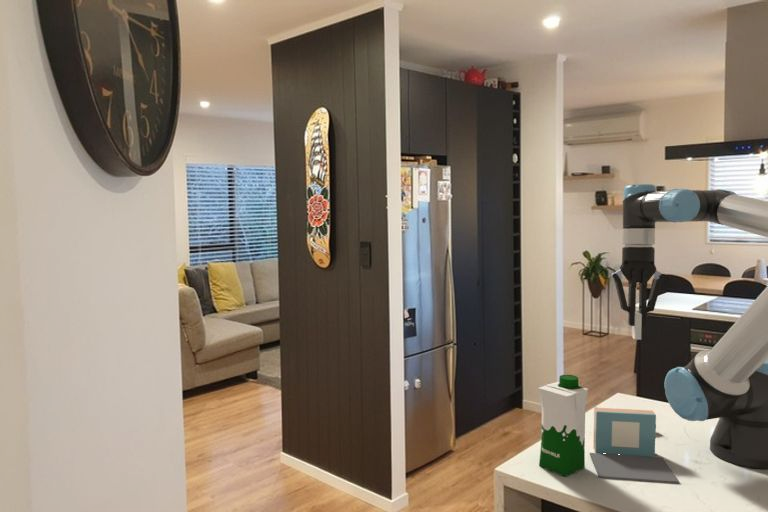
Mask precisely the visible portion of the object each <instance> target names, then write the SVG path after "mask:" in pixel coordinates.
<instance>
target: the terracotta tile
mask: <svg viewBox="0 0 768 512" xmlns="http://www.w3.org/2000/svg"><path fill="white" fill-rule="evenodd" d="M593 410H594V411H593V443H592V444H593V448H592V449H593V451H594V450H595V451H594V453H606V454H620V455H633V456H649V457H656V429H657V414H656V413H655V412H654V410H650V409H649V410H647V409H629V408H628V409H627V408H612V407H611V408H609V407H594V409H593Z"/></svg>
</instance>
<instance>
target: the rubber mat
mask: <svg viewBox="0 0 768 512" xmlns="http://www.w3.org/2000/svg"><path fill="white" fill-rule="evenodd" d="M589 456H590V458H591V462H592V464H593V466H594V468H595V471H596V474H597V477H598V478H599V479H611V480H612V479H613V480H623V481H624V480H626V481H639V482H650V483H651V482H652V483H665V484H680V481H679V479H678V477H677V476H676V474H675V472H673V470H672V468H671V467H670V466H669V464H668V462H667V461H666V460H665V457H661V456H660V457H659V456H655V457H649V456H633V455H618V454H603V453H595V452H589Z"/></svg>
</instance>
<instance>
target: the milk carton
mask: <svg viewBox="0 0 768 512" xmlns="http://www.w3.org/2000/svg"><path fill="white" fill-rule="evenodd" d="M538 393H539V397H540V398H539V399H540V403H541V431H540V432H541V436H540V437H541V440H540V441H541V442H540V443H541V444H540V450H539V451H540V453H539V463H538V466H539V467H541V468H544V469H546V470H548V471H551V472H553V473H556V474H558V475H561V476H562V477H564V478H566V477H568V476H570V475H572V474H575V473H576V472H577V473H578V472H579V471H580V470H583V469H585V468H586V467H585V466H586V465H585V461H586V460H585V458H586V457H585V456H586V455H585V453H586V452H585V447H586V446H585V445H586V440H585V438H586V437H585V435H586V434H585V433H586V407H587V401H588V394H589V388H585V387H584V386H580V385H579V377H578V376H576V375H573V374H562V375H559V381H556V382H552V383H549V384H545V385H543V386H540V387H538Z"/></svg>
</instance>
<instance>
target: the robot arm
mask: <svg viewBox="0 0 768 512" xmlns="http://www.w3.org/2000/svg"><path fill="white" fill-rule="evenodd" d="M622 197H623V198H622V245H624V246H623V247H622V248H621V249H622V252H621V253H622V254H621V265H620V266H619V270H616V271H615V272H611V273H610V277H611V278H612V280H613V282H614V285H615V289H616V293H617V297H618V301H619V305H620V309H621V310H623V311H625V312H627V313H628V317H627V318H628V325H629V326H631V327H632V330H631V331H632V333H631V336H632V339H633V340H637V341H639V340H640V341H641V340H642V327H646V324H647V323H646V322H647V320H646V319H647V318H646V316H647V313H650V312H653V311H654V310H655V307H656V303H657V301H658V297H659V293H660V289H661V287H662V283H663V282H664V281H665V279H666V277H667V275H666V274H665V273H662V272H660V271H659V270H657V267H656V264H655V249H656V248H654V245H655V244H656V223H683V222H684V223H685V222H686V223H688V222H689V223H691V222H709V223H714V224H718V225H721V226H726V227H729V228H732V229H737V230H740V231H743V232H746V233H751V234H754V235H758V236H760V237H761V236H762V237H765V238H768V201H767V200H761V199H758V198H752V197H749V196H743V195H739V194H737V193H736V192H735V191H733V190H727V189H710V190H709V189H708V190H706V189H704V190H702V189H701V190H699V189H697V190H696V189H694V190H693V189H692V190H691V189H688V188H684V189H683V188H673V189H669V190H658V191H657V189H656V185H654V184H651V183H640V184H639V183H638V184H628V185H626V186H625V187H624V189H623V196H622ZM623 276H624V278H625V279H626V280H627V283H628V285H627V286H628V300H627V299H626V294H625V290H624V285H623V282H622V279H623ZM652 277H653V282H652V285H651V290H650V293H649V297H648V299H647V296H648V294H647V293H648V281H650V280H651V279H652ZM637 284H638V286H639V287H638V290H639V291H638V312H636V311H637V310H636V305H637V304H636V303H637V301H636V300H637ZM627 301H628V302H627ZM665 375H666V376H665V379H664V383H663V384H664V386H663V388H664V390H665V391H664V393H665V397H666V400H667V401H668V404H669V406H670V408H672V410H673V411H674V412H675V414H676V415H678V416H679V417H680V418H682V419H683V420H686V421H690V422H697V421H698V422H705V421H706V420H707V421H709V420H712V419H713V420H714V419H718V421H717V423H716V425H715V427H714V430H713V432H712V434H711V437H710V440H709V450H710V452H711V453H712V454H713V455H714V456H716V457H718V458H719V459H721V460H724V461H726V462H728V463H732V464H733V465H738V466H742V467H747V468H752V469H762V470H768V285H767V286H765V288H764V289H763V290H762V292H761V293H760V294H759V295H758V296H757V297H756V299H755V300H754V301H753V302H752V303H751V304H750V305H749V306H748V307H747V309H746V310H745V311H744V312H743V313H742V315H741V316H740V317H739V318H738V319H737V320H736V321H734V323H733V324H732V325H731V327H729V329H728V330H727V332H725V334H724V335H723V336H722V337H721V338H720V339H719V340H718V342H716V344H715V345H714V346H713V347H712V348H711V349H704V350H700V351H699V352H698V353H697V354H696V355H695V356H694V357H693V358H692V359H691V360H690V361H689V362H688V363H687V365H685V366H677V367H675V368H674V367H673V368H672V369H670V370H669V371H668V372H667V374H665Z"/></svg>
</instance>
